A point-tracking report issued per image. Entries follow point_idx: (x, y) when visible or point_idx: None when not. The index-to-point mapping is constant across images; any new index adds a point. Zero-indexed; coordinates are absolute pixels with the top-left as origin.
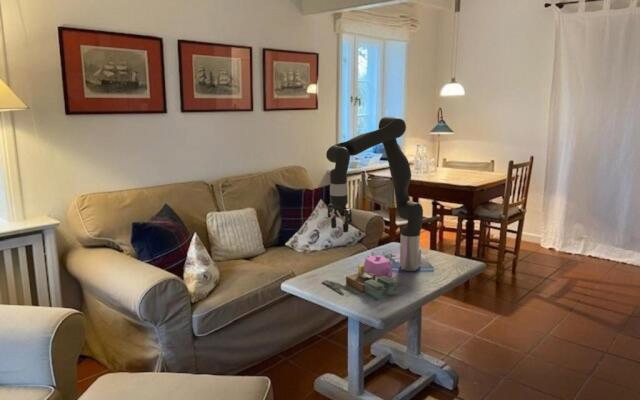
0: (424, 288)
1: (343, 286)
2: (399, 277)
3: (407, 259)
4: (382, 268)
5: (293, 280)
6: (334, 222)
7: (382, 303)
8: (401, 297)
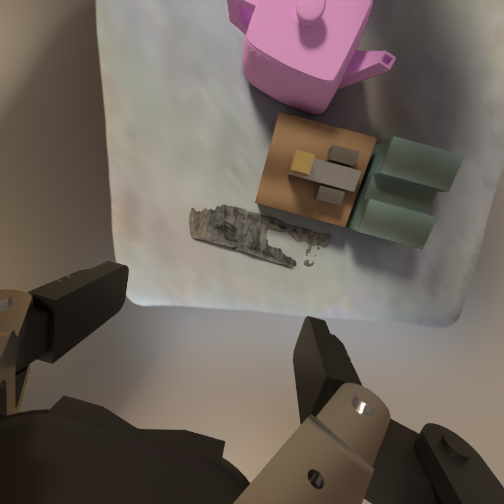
0: (500, 42)
1: (259, 218)
2: None
3: None
4: (347, 65)
5: None
6: (84, 309)
7: None
8: None
